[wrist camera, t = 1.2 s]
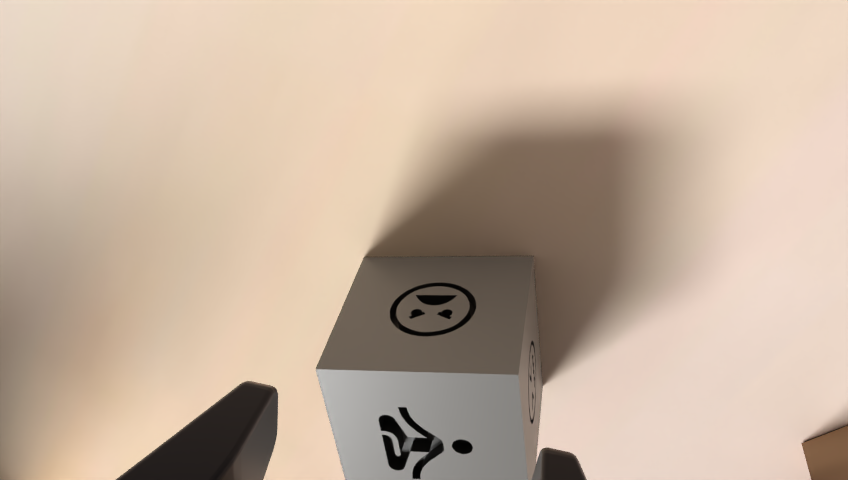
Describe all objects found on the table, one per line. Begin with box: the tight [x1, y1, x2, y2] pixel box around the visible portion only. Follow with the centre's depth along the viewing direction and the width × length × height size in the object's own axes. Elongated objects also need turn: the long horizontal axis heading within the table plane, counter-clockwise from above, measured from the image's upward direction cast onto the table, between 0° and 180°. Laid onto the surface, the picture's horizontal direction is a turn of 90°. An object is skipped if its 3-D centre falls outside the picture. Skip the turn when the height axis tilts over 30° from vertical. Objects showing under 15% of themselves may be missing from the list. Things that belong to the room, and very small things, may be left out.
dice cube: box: [316, 256, 543, 480], centre depth 23 cm, size 5×5×5 cm
